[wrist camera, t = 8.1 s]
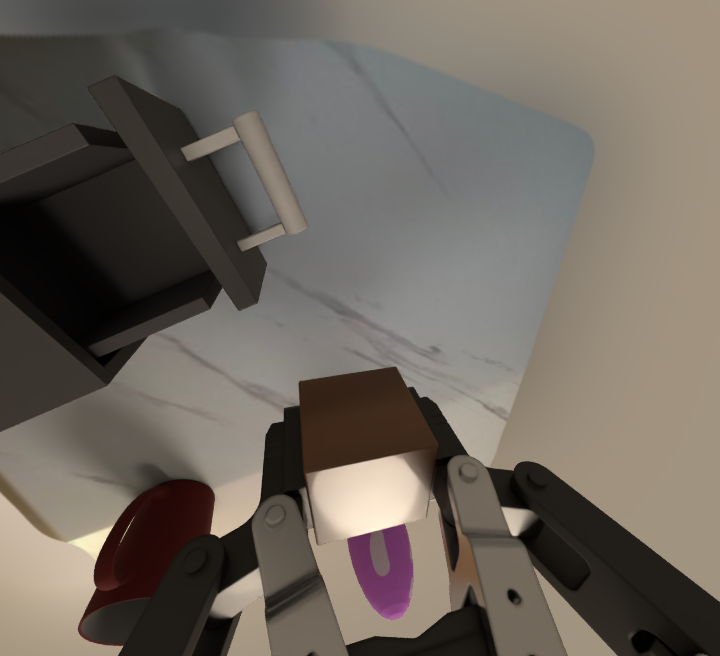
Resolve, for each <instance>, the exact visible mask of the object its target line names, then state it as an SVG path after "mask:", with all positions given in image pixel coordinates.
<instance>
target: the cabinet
mask: <svg viewBox="0 0 720 656" xmlns="http://www.w3.org/2000/svg"><path fill="white" fill-rule="evenodd" d="M147 337H148V336H147ZM147 337H144V338H142V339H140V340H138V341H135V342H133V343H131V344H128V345H126V346H124V347H121V348H119V349H117V350H114V351H112V352H110V353H107V354H105V355H103V356H100V357H98V358H96V359H94V358H93V357H92V356H91V355H90V354H88V353H87V352H86V351H85V350H84V349H83V348H82V347H81V346H80V345H78V344H77V343H76V342H75V341H74V340H73V339H72V338H71V337H70V336H68V335H67V334H66V333H65V332H64V331H63V330H62V329H61V328H60V327H58V326H57V325H56V324H55V323H54V322H53V321H52V320H51V319H50V318H48V317H47V316H46V315H45V314H44V313H43V312H42V311H41V310H40V309H38V308H37V307H36V306H35V305H34V304H33V303H32V302H31V301H30V300H28V299H27V298H26V297H25V296H24V295H23V294H22V293H21V292H20V291H18V290H17V289H16V288H15V287H14V286H13V285H12V284H11V283H10V282H8V281H7V280H6V279H5V278H4V277H3V276H2V275H1V274H0V432H1V431H3V430H6V429H8V428H10V427H13V426H15V425H17V424H20V423H22V422H24V421H27V420H29V419H31V418H34V417H36V416H38V415H41V414H43V413H45V412H47V411H50V410H52V409H54V408H57V407H59V406H61V405H64V404H66V403H68V402H71V401H73V400H75V399H78V398H80V397H82V396H85V395H87V394H89V393H91V392H94V391H96V390H98V389H101V388H103V387H105V386H107V385H108V384H109V383H110V382H111V381H112V379H113V378H114V377H115V375H116V374H117V373H118V372H119V371H120V369H121V368H122V367H123V366H124V365H125V363H126V362H127V361H128V360H129V359H130V358H131V356H132V355H133V354H134V353H135V352H136V350H137V349H138V348H139V347H140V346H141V344H142V343H143V342H144V341H145V340H146V338H147Z"/></svg>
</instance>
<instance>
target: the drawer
mask: <svg viewBox="0 0 720 656" xmlns="http://www.w3.org/2000/svg"><path fill="white" fill-rule="evenodd" d="M87 88H88V90H89V91H90V93H91V94H92V96H93V97H94V99H95V100H96V102H97V103H98V105H99V106H100V108H101V109H102V111H103V112H104V113H105V115H106V116H107V118H108V119H109V121H110V122H111V124H112V125H113V127H114V128H115V130H116V131H117V132H115V131H110V130H105V129H100V128H95V127H90V126H85V125H80V124H75V123H72V124H69V125H67V126H65V127H62V128H60V129H58V130H55V131H53V132H51V133H48V134H46V135H44V136H41V137H39V138H37V139H34V140H32V141H30V142H27V143H25V144H23V145H20V146H18V147H16V148H13V149H11V150H9V151H6V152H4V153H2V154H0V274H1V275H2V276H3V277H4V278H5V279H6V280H7V281H8V282H10V283H11V284H12V285H13V286H14V287H15V288H16V289H17V290H18V291H20V292H21V293H22V294H23V295H24V296H25V297H26V298H27V299H28V300H30V301H31V302H32V303H33V304H34V305H35V306H36V307H37V308H38V309H40V310H41V311H42V312H43V313H44V314H45V315H46V316H47V317H48V318H50V319H51V320H52V321H53V322H54V323H55V324H56V325H57V326H58V327H60V328H61V329H62V330H63V331H64V332H65V333H66V334H67V335H68V336H70V337H71V338H72V339H73V340H74V341H75V342H76V343H77V344H78V345H80V346H81V347H82V348H83V349H84V350H85V351H86V352H87V353H88V354H90V355H91V356H92V357H93V358H94V359H96V358H98V357H100V356H103V355H105V354H107V353H110V352H112V351H114V350H117V349H119V348H121V347H124V346H126V345H128V344H131V343H133V342H135V341H138V340H140V339H142V338H144V337H147V336H149V335H151V334H154V333H156V332H158V331H161V330H163V329H165V328H168V327H170V326H172V325H175V324H177V323H179V322H182V321H184V320H186V319H189V318H191V317H193V316H195V315H198V314H200V313H202V312H205V311H207V310H209V309H211V307H212V305H213V303H214V302H215V300H216V298H217V296H218V294H219V293H220V291H221V289H222V287H223V288H224V290H225V291H226V293H227V294H228V296H229V297H230V299H231V300H232V302H233V303H234V305H235V306H236V308H237V309H238V310H239V311H241V310H243V309H245V308H248V307H250V306H252V305H254V304H257V303H258V300H259V296H260V292H261V287H262V283H263V279H264V274H265V270H266V266H267V262H266V261H265V259H264V257H263V255H262V253H261V252H260V250H259V248H258V246H257V245H259V244H261V243H263V242H266V241H268V240H270V239H273V238H275V237H277V236H280V235H282V234H284V233H287V234H288V235H293V234H296V233H299V232H301V231H303V230H305V229H306V228H307V227H308V223H307V221H306V219H305V216H304V214H303V212H302V209H301V207H300V205H299V203H298V200H297V198H296V196H295V194H294V191H293V189H292V187H291V185H290V182H289V180H288V178H287V176H286V173H285V171H284V169H283V167H282V164H281V162H280V160H279V158H278V155H277V153H276V151H275V149H274V146H273V144H272V142H271V140H270V137H269V135H268V133H267V131H266V128H265V126H264V124H263V122H262V119H261V117H260V115H259V113H258V111H250V112H247V113H244V114H242V115H240V116H238V117H236V118H235V119H234V120H233V121H232V123H233V125H234V126H231V127H229V128H226V129H224V130H222V131H219V132H217V133H215V134H212V135H210V136H208V137H206V138H203V139H201V140H199V141H198V139H197V137H196V136H195V134H194V132H193V130H192V128H191V127H190V125H189V123H188V121H187V119H186V118H185V116H184V114H183V112H182V111H181V110H180V109H178V108H177V107H175V106H173V105H171V104H169V103H167V102H165V101H163V100H161V99H159V98H157V97H156V96H154V95H152V94H150V93H148V92H146V91H144V90H142V89H140V88H138V87H137V86H135V85H133V84H131V83H129V82H127V81H125V80H123V79H121V78H119V77H117V76H115V75H114V76H111V77H109V78H107V79H104V80H102V81H100V82H97V83H95V84H93V85H90V86H88V87H87ZM240 140H241V141H242V143H243V145H244V147H245V149H246V151H247V153H248V155H249V157H250V159H251V161H252V163H253V165H254V168H255V170H256V172H257V174H258V176H259V178H260V180H261V182H262V184H263V186H264V188H265V190H266V192H267V194H268V196H269V198H270V200H271V202H272V204H273V206H274V208H275V210H276V212H277V214H278V216H279V218H280V220H281V222H280V223H277V224H275V225H273V226H270V227H268V228H266V229H264V230H261V231H259V232H257V233H254V234H252V235H251V234H250V232H249V230H248V228H247V227H246V225H245V223H244V221H243V220H242V218H241V216H240V214H239V212H238V211H237V209H236V207H235V205H234V203H233V202H232V200H231V198H230V196H229V194H228V193H227V191H226V189H225V187H224V186H223V184H222V182H221V180H220V178H219V177H218V175H217V173H216V171H215V169H214V168H213V166H212V164H211V162H210V161H209V159H208V157H207V154H209V153H212V152H214V151H216V150H219V149H221V148H223V147H226V146H228V145H230V144H233V143H235V142H237V141H240Z"/></svg>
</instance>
